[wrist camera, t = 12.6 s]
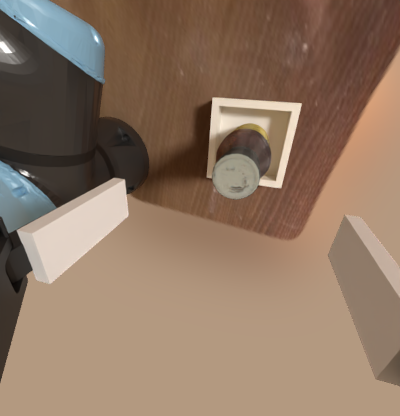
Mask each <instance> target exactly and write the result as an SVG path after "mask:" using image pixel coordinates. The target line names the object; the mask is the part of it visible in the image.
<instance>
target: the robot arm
mask: <svg viewBox="0 0 400 416" xmlns="http://www.w3.org/2000/svg"><path fill="white" fill-rule="evenodd" d="M104 57H105V47H104V43H103V40H102V38H101V36H100V35H99V33H98V32H97V31H96V30H95V29H94V28H93V27H92V26H91V25H89V24H88V23H86V22H85V21H83V20H81V19H80V18H78V17H76V16H75V15H73V14H71V13H70V12H68V11H66V10H65V9H63V8H61V7H59V6H58V5H56V4H54V3H53V2H51V1H49V0H0V381H1V378H2V374H3V371H4V367H5V363H6V359H7V356H8V352H9V349H10V345H11V341H12V337H13V334H14V330H15V326H16V323H17V319H18V316H19V312H20V308H21V305H22V301H23V297H24V293H25V290H26V286H27V283H28V279H27V276H26V275H27V274H28V273H29V272H30V271H32V270H33V273H34V275H35V278H36V280H38V281H41V282H45V283H48V284H51V283H52V282H53V281H54V280H55V279H56V278H58V277H59V276H60V275H61V274H62V273H63V272H65V271H66V270H67V269H68V268H69V267H70V266H71V265H73V264H74V263H75V262H76V261H77V260H78V259H80V258H81V257H82V256H83V255H84V254H85V253H86V252H88V251H89V250H90V249H91V248H92V247H93V246H95V244H97V243H98V242H99V241H100V240H101V239H103V238H104V237H105V236H106V235H107V234H108V233H109V232H111V231H112V230H113V229H114V228H115V227H116V226H118V224H120V223H121V222H122V221H123V220H124V219H125V218H127V217H128V215H129V214H128V205H127V196H126V195H127V194H130V193H132V192H133V191H135V190H136V189H137V188H139V187H140V186H141V185H142V184H143V183H144V181H145V180H146V177H147V175H148V171H149V158H148V153H147V150H146V147H145V145H144V143H143V141H142V139H141V138H140V136H139V135H138V134H137V132H136V131H135V130H134V129H133V128H132V127H131V126H129V125H128V124H127V123H125V122H123V121H121V120H119V119H116V118H112V117H101V118H99V115H100V105H101V96H102V88H103V84H104V83H105V79H104ZM328 257H329V259H330V262H331V265H332V267H333V270H334V272H335V275H336V277H337V280H338V283H339V285H340V288H341V291H342V293H343V296H344V298H345V301H346V303H347V306H348V308H349V311H350V314H351V316H352V319H353V322H354V324H355V327H356V329H357V332H358V334H359V337H360V340H361V342H362V345H363V348H364V350H365V353H366V355H367V358H368V360H369V363H370V366H371V368H372V371H373V373H374V376H375V378H376V379H377V380H381V381H384V382H388V383H391V384H394V385H398V386H400V267H399V266H398V265H397V263H396V262H395V261H394V259H393V258H392V257H391V255H390V254H389V253H388V252H387V250H386V249H385V248H384V247H383V245H382V244H381V243H380V241H379V240H378V239H377V237H376V236H375V235H374V234H373V232H372V231H371V230H370V229H369V227H368V226H367V225H366V224H365V222H364V221H363V220H362V218H361V217H357V216H350V215H344V218H343V220H342V222H341V225H340V227H339V230H338V232H337V234H336V237H335V239H334V242H333V244H332V246H331V249H330V251H329V254H328Z"/></svg>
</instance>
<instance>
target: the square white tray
mask: <svg viewBox="0 0 400 416" xmlns="http://www.w3.org/2000/svg"><path fill="white" fill-rule="evenodd" d="M301 105H302V104H301V103H291V102H277V101H262V100H248V99H233V98H218V97H217V98H213V99H212V112H211V125H210V139H209V152H208V166H207V178H212V172H213V168H214V166H215V164H216V152H217V150H218V148H219V145H220V144H221V142H222V141H223V140H224V139H225V137H226V136H227V135H229V134H230V133H231V132H232V131H234V130H235V129H236V128H237V127H239V126H241V125H243V124H248V123H252V124H256V125H259V126H260V127H262V128H263V129H264V130H265V131H266V133H267V135H268V138H269V143H270V148H271V164H270V167H269V169H268V171H267V172H266V173H265V175H264V176H262V177H261V178H260V182H259V185H261V186H268V187H275V188H281V187H282V182H283V178H284V174H285V170H286V166H287V162H288V158H289V154H290V150H291V146H292V142H293V138H294V134H295V130H296V126H297V122H298V117H299V113H300V109H301Z"/></svg>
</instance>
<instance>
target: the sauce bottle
mask: <svg viewBox="0 0 400 416" xmlns="http://www.w3.org/2000/svg"><path fill="white" fill-rule="evenodd" d="M270 164H271V148H270V143H269V138H268V135H267V133H266V131H265V130H264V129H263V128H262V127H260V126H259V125H256V124H252V123H248V124H243V125H241V126H239V127H237V128H236V129H235V130H234V131H232V132H231V133H230V134H229V135H227V136H226V137H225V139H224V140H223V141H222V142H221V144H220V145H219V148H218V150H217V152H216V164H215V166H214V168H213V172H212V181H213V184H214V186H215V188H216V189H217V191H218V192H219V193H220V194H221V195H223V196H225V197H227V198H230V199H242V198H245V197H248V196H249V195H251V194H252V193H253V192H254V191H255V190H256V189H257V187H258V185H259V182H260V178H261V177H262V176H264V175H265V173H266V172H267V171H268V169H269V167H270Z"/></svg>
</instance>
